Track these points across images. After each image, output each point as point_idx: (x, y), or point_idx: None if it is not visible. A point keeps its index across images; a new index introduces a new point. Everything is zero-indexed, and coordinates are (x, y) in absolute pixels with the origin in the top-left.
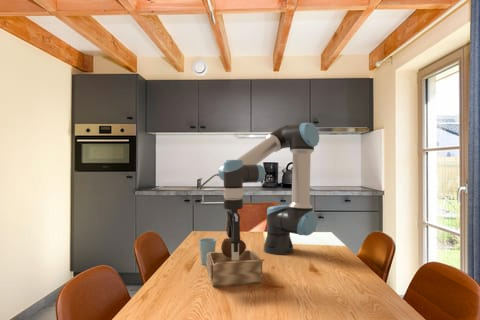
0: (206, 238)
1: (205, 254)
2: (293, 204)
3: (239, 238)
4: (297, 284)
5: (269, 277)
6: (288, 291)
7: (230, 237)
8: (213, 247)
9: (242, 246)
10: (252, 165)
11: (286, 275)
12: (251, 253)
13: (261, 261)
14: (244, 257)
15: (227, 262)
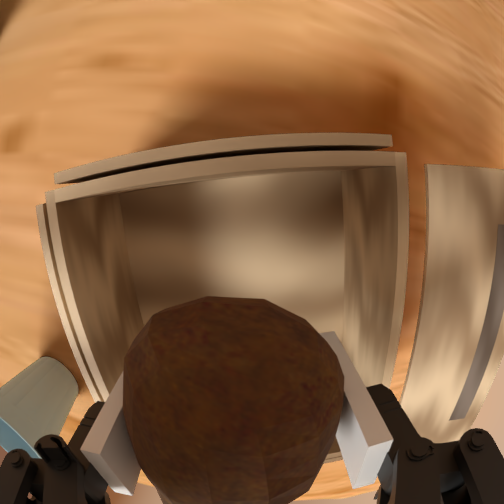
0: None
1: (63, 420)
2: None
3: (498, 461)
4: (367, 15)
5: (265, 95)
6: (435, 81)
7: (103, 481)
8: (28, 409)
9: (332, 367)
10: None
11: (245, 13)
12: (119, 189)
13: (477, 172)
14: (90, 238)
15: (482, 400)
